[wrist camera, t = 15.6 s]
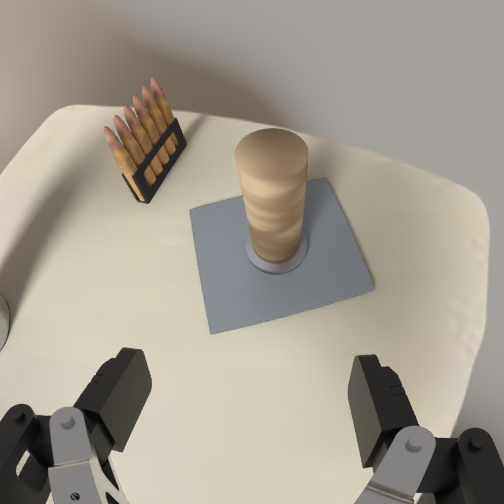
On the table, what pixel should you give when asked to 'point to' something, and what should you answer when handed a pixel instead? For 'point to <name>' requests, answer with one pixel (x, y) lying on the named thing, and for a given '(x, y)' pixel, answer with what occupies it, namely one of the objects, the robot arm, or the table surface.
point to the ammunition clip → (146, 142)
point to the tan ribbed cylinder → (274, 198)
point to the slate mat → (267, 285)
